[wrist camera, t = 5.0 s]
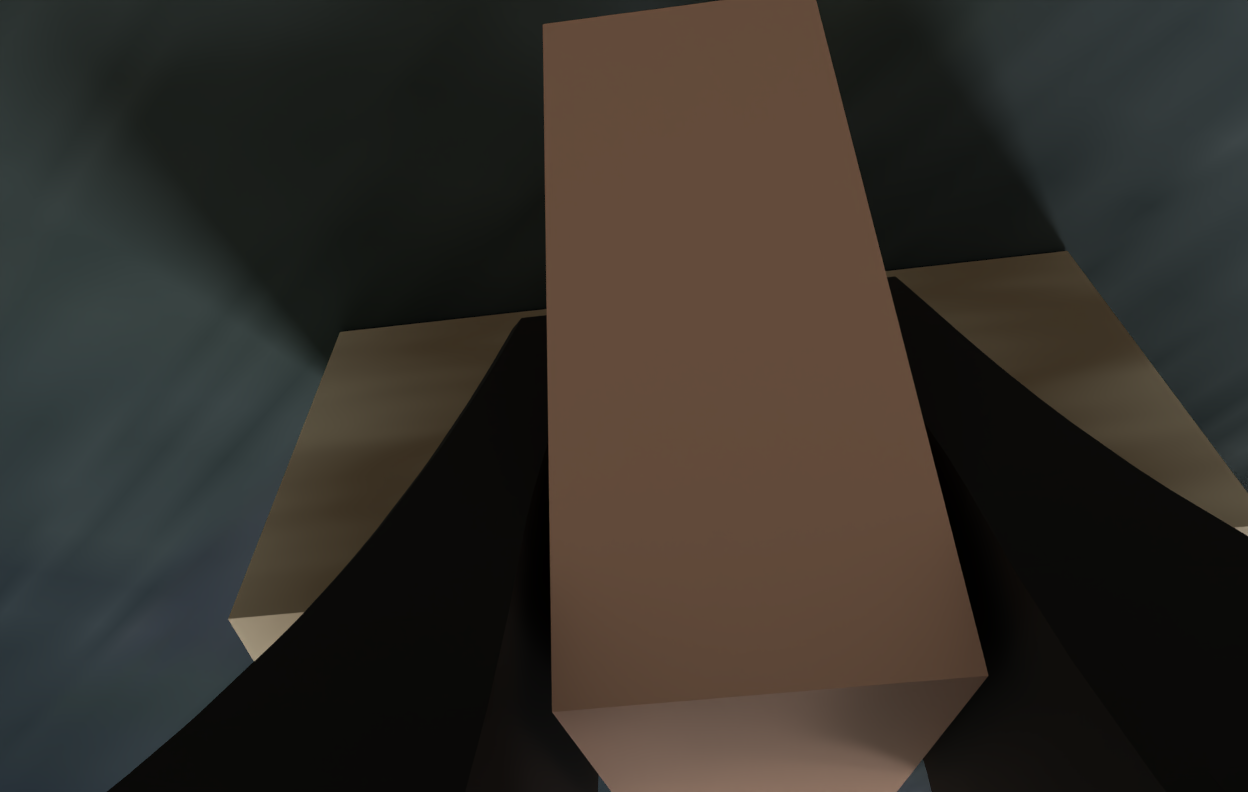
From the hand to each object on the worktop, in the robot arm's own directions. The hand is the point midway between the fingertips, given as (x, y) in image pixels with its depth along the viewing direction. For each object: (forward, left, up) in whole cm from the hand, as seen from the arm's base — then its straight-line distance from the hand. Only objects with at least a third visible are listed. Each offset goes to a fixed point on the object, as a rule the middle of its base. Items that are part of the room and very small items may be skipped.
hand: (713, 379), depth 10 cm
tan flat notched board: (-2, +1, -3) cm, 4 cm away
